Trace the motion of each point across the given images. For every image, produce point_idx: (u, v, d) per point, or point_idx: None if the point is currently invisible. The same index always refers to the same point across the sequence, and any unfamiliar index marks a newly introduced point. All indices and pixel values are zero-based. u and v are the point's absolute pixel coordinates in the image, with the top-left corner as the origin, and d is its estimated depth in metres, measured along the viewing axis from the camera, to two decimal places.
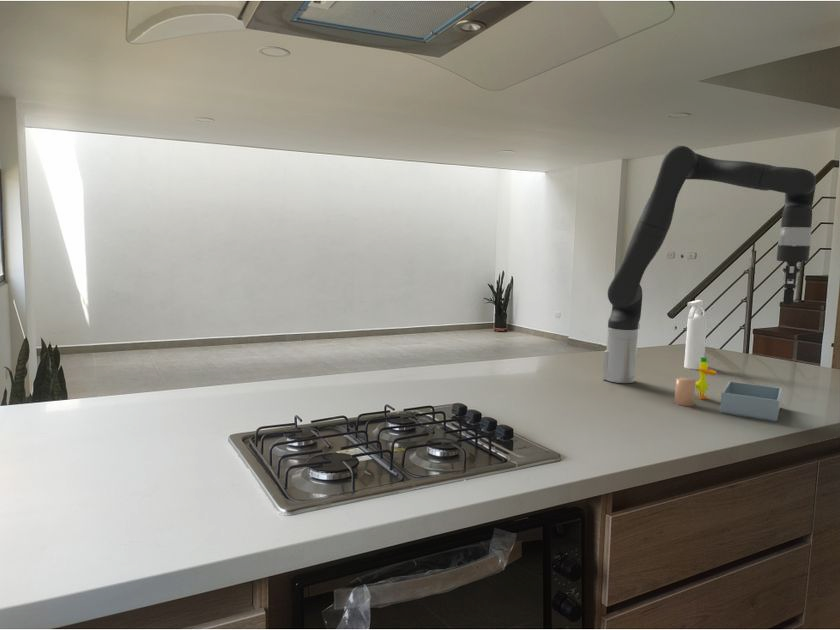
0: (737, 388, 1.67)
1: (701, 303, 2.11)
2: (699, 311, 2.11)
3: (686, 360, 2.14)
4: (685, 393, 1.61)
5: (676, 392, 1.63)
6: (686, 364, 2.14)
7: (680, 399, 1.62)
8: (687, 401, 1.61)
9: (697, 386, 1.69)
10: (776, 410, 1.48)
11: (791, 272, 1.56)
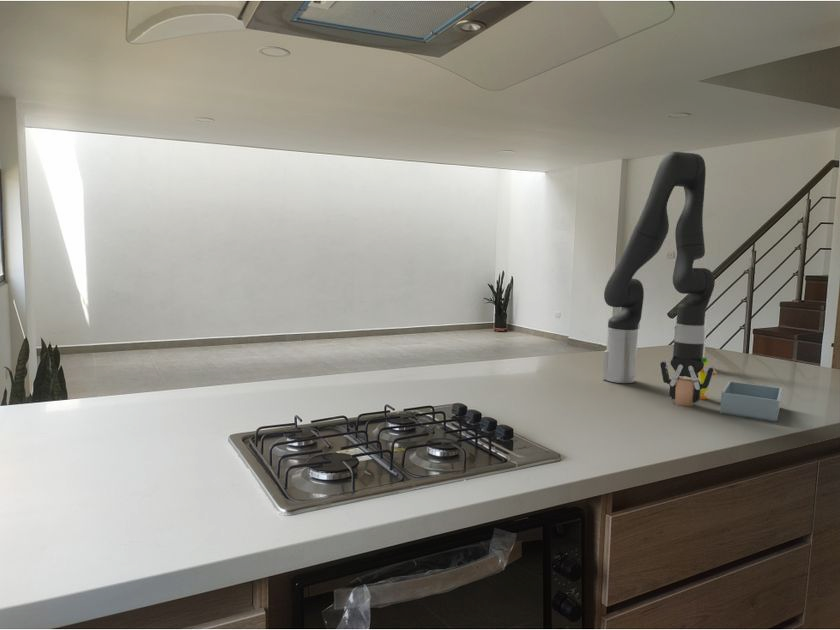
0: (737, 388, 1.67)
1: None
2: None
3: None
4: (685, 393, 1.61)
5: (676, 392, 1.63)
6: None
7: (680, 399, 1.62)
8: (687, 401, 1.61)
9: None
10: (776, 410, 1.48)
11: (711, 374, 1.59)
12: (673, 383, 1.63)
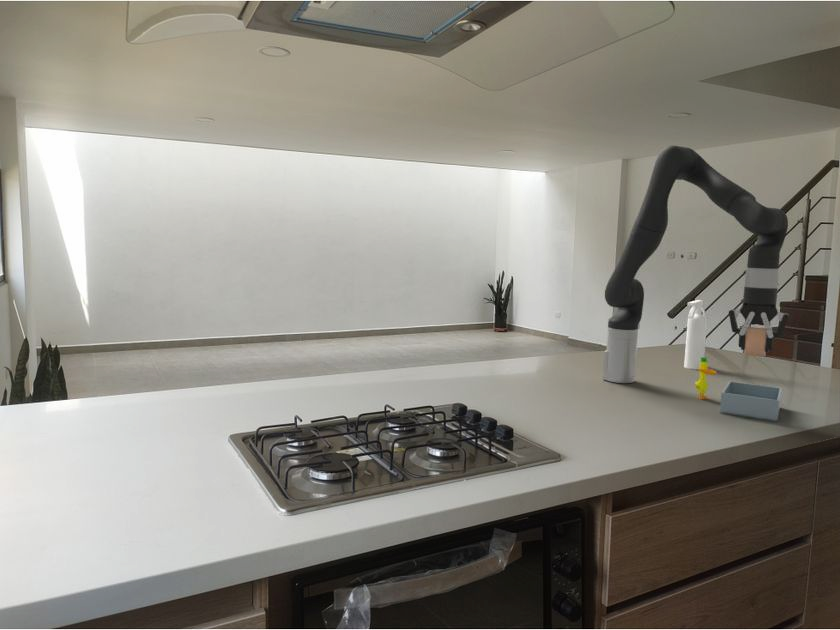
0: (737, 388, 1.67)
1: (701, 303, 2.11)
2: (699, 311, 2.11)
3: (686, 360, 2.14)
4: (757, 342, 1.50)
5: (746, 341, 1.53)
6: (686, 364, 2.14)
7: (751, 349, 1.51)
8: (759, 350, 1.51)
9: (697, 386, 1.69)
10: (776, 410, 1.48)
11: (786, 321, 1.49)
12: (743, 332, 1.53)
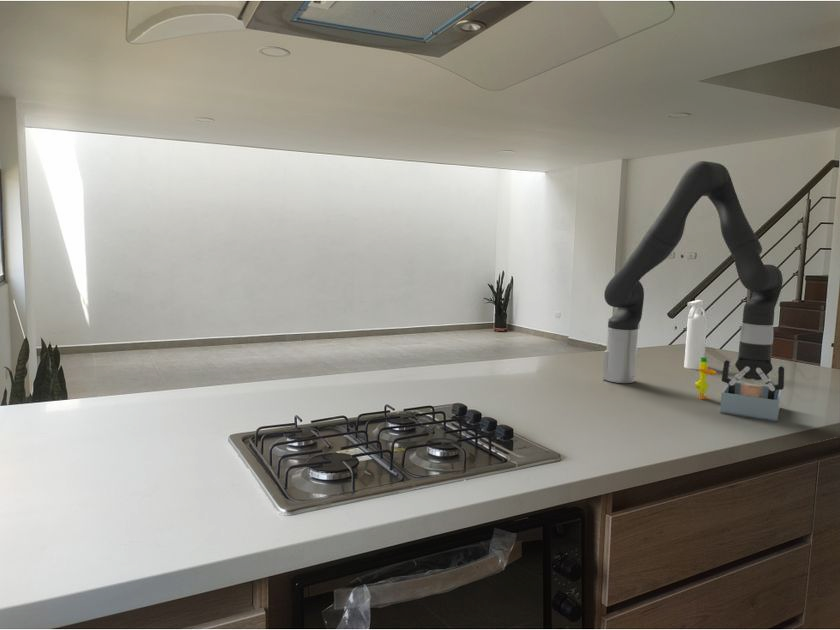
0: (737, 388, 1.67)
1: (701, 303, 2.11)
2: (699, 311, 2.11)
3: (686, 360, 2.14)
4: None
5: None
6: (686, 364, 2.14)
7: None
8: None
9: (697, 386, 1.69)
10: (776, 410, 1.48)
11: (783, 373, 1.50)
12: (733, 383, 1.56)
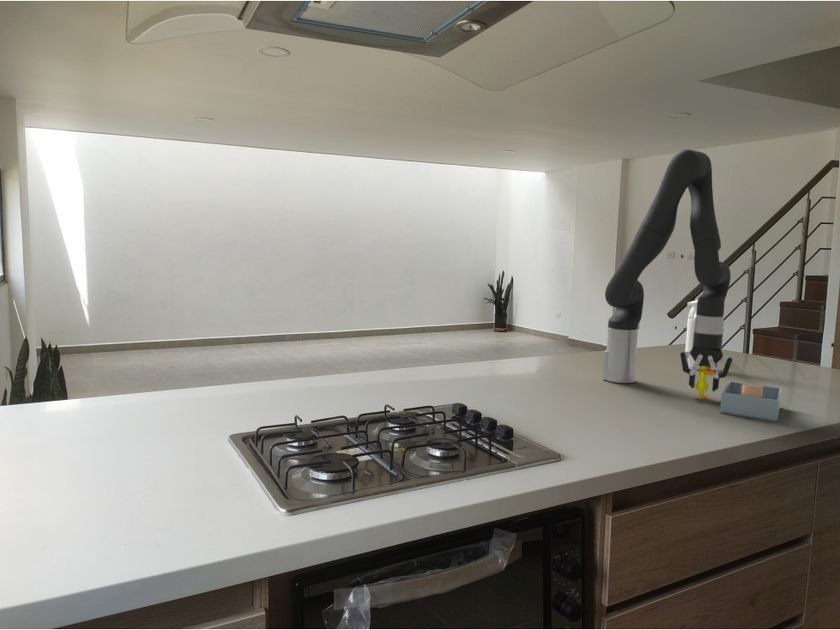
0: (737, 388, 1.67)
1: None
2: None
3: None
4: None
5: None
6: None
7: None
8: None
9: (697, 386, 1.69)
10: (776, 410, 1.48)
11: (730, 363, 1.65)
12: (693, 372, 1.70)
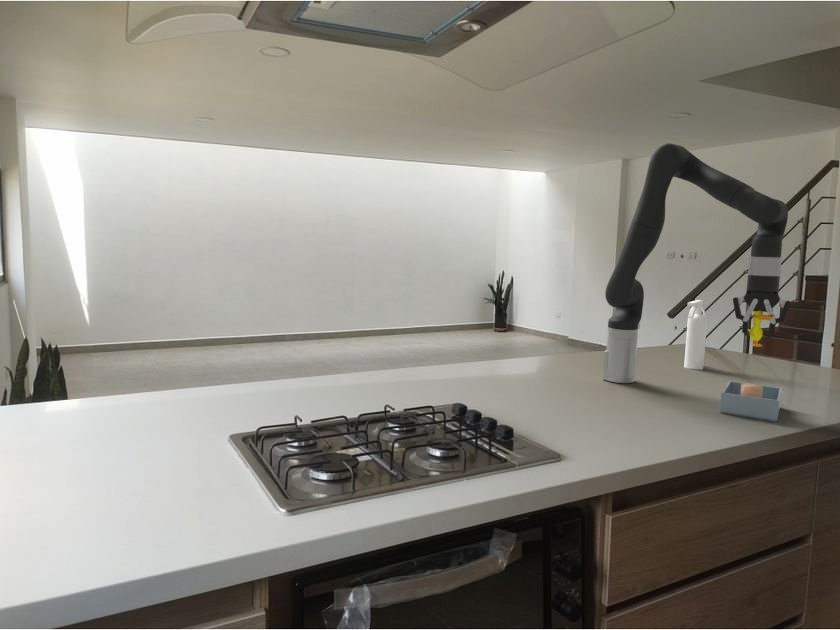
0: (737, 388, 1.67)
1: (701, 303, 2.11)
2: (699, 311, 2.11)
3: (686, 360, 2.14)
4: None
5: None
6: (686, 364, 2.14)
7: None
8: None
9: (751, 333, 1.59)
10: (776, 410, 1.48)
11: (788, 307, 1.55)
12: (746, 318, 1.60)
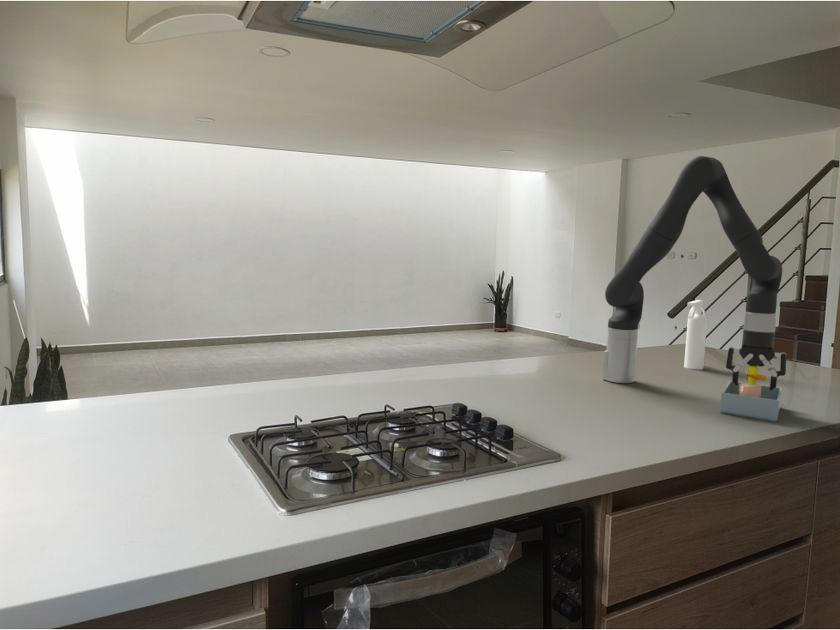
0: (737, 388, 1.67)
1: (701, 303, 2.11)
2: (699, 311, 2.11)
3: (686, 360, 2.14)
4: None
5: None
6: (686, 364, 2.14)
7: None
8: None
9: None
10: (776, 410, 1.48)
11: (785, 359, 1.56)
12: (737, 369, 1.62)
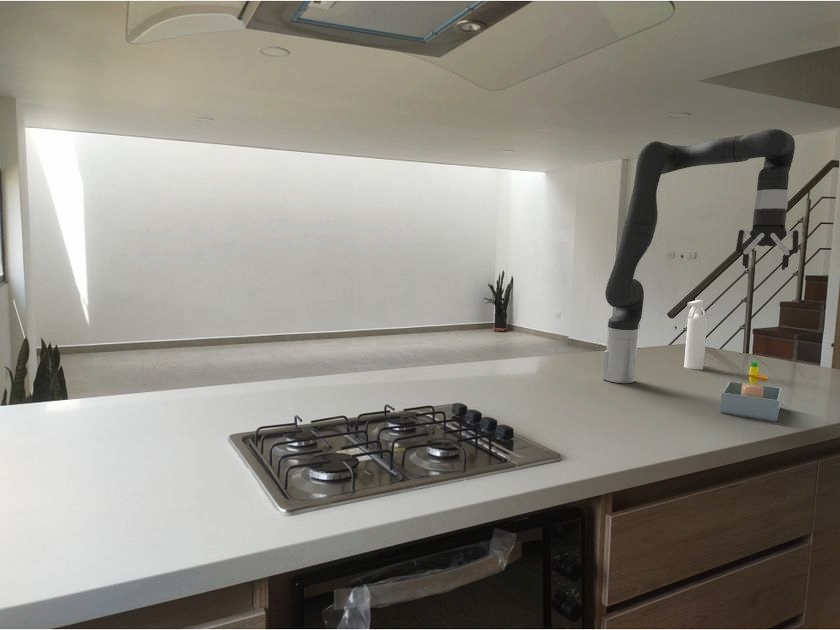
0: (737, 388, 1.67)
1: (701, 303, 2.11)
2: (699, 311, 2.11)
3: (686, 360, 2.14)
4: None
5: None
6: (686, 364, 2.14)
7: None
8: None
9: None
10: (776, 410, 1.48)
11: (797, 236, 1.52)
12: (747, 251, 1.58)
